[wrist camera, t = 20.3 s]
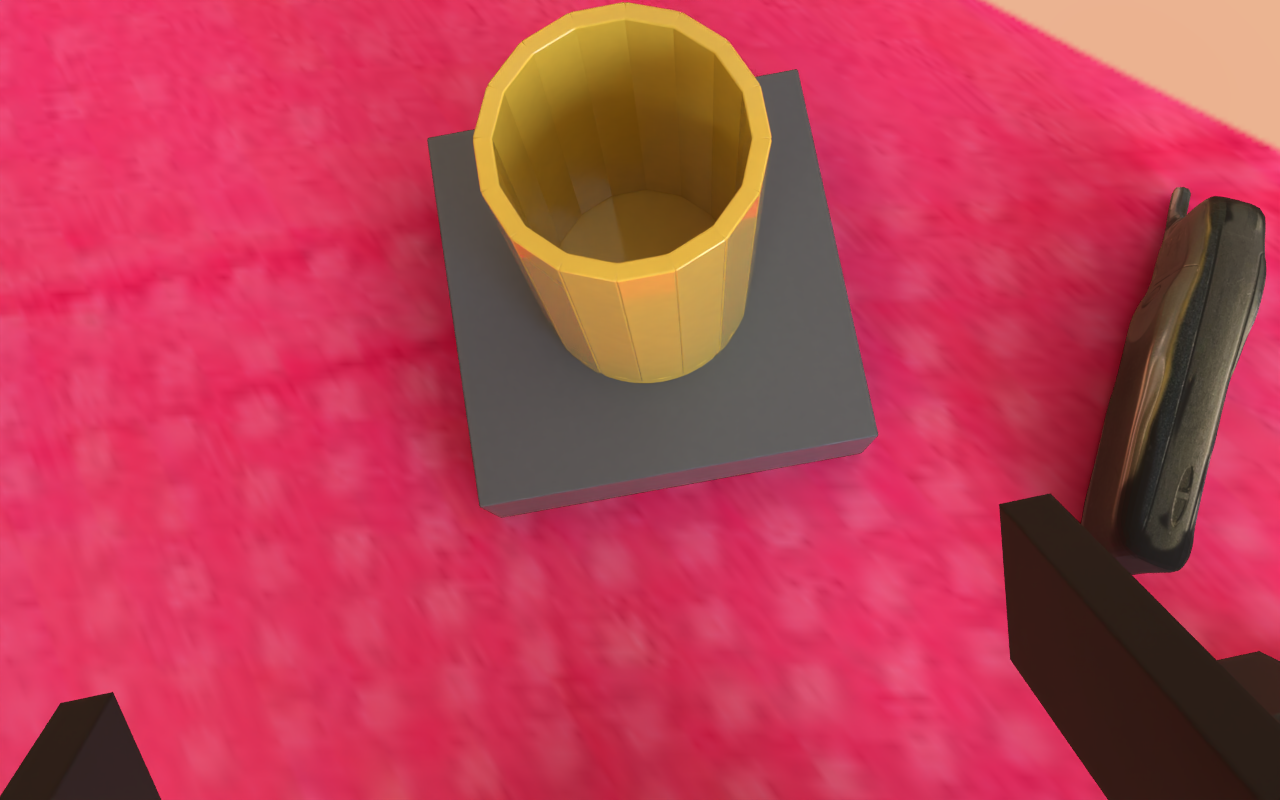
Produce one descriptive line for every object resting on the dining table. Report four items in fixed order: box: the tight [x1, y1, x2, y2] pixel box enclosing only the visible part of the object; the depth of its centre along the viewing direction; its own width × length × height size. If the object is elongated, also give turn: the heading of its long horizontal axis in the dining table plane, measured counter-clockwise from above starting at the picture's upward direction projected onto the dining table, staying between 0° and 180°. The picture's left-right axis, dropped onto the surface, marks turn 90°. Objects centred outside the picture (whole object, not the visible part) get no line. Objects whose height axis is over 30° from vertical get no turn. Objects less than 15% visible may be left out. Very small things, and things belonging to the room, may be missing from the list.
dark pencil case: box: [1081, 187, 1266, 575], centre depth 39 cm, size 5×3×15 cm
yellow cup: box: [473, 2, 772, 383], centre depth 33 cm, size 7×7×12 cm
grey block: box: [427, 69, 878, 518], centre depth 41 cm, size 14×14×4 cm
